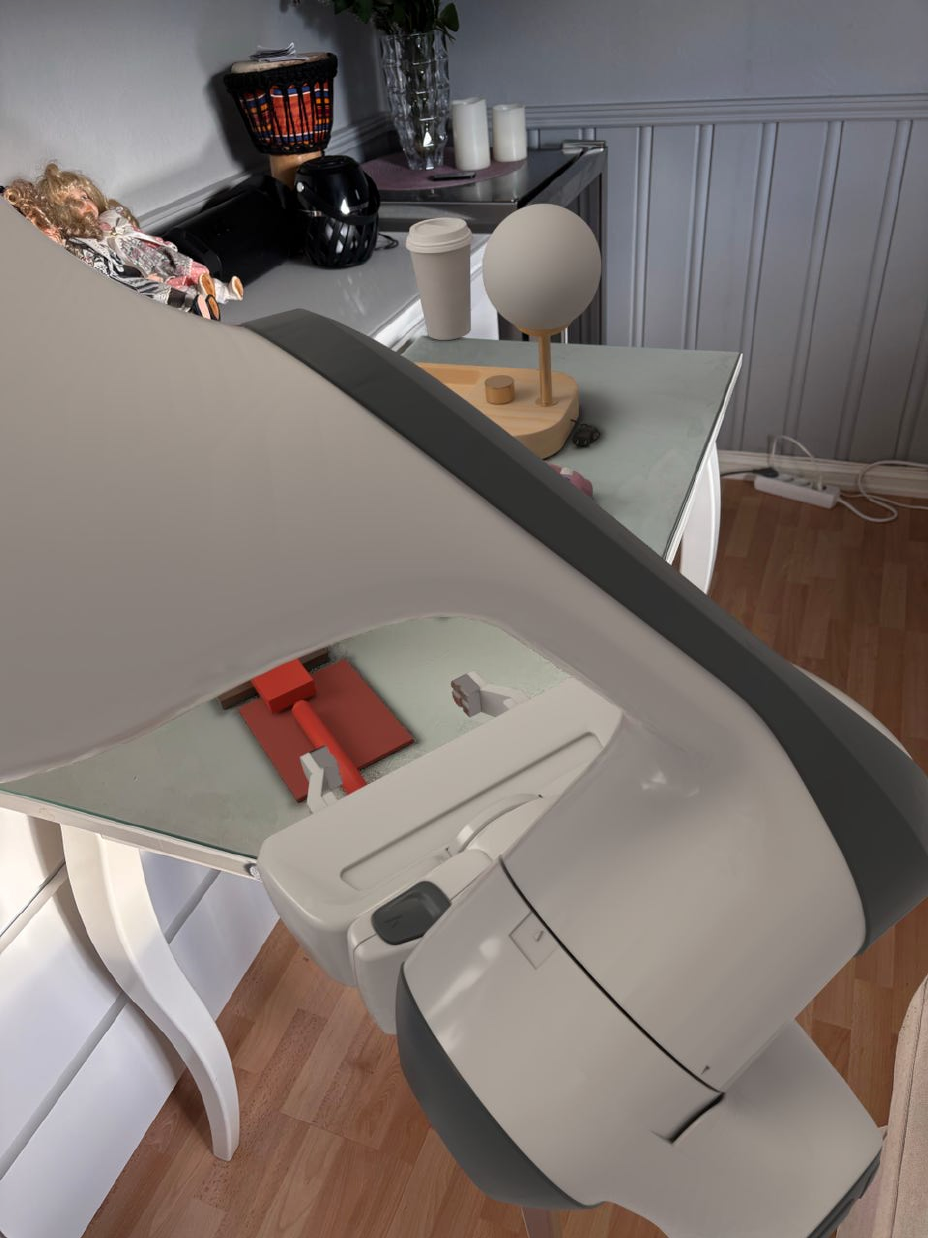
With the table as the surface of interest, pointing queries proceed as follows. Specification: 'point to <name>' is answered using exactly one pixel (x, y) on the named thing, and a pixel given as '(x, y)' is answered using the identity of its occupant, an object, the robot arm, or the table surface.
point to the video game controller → (575, 479)
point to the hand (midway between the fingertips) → (390, 720)
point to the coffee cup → (443, 275)
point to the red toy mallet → (305, 713)
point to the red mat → (328, 725)
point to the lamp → (533, 324)
